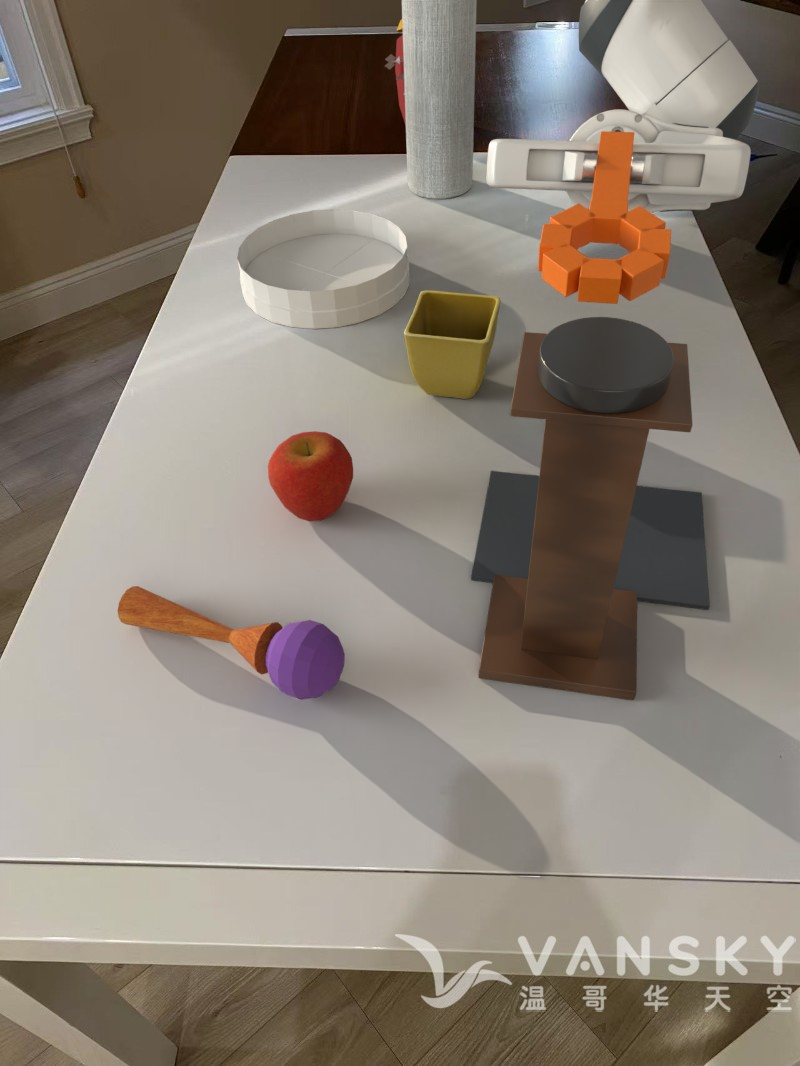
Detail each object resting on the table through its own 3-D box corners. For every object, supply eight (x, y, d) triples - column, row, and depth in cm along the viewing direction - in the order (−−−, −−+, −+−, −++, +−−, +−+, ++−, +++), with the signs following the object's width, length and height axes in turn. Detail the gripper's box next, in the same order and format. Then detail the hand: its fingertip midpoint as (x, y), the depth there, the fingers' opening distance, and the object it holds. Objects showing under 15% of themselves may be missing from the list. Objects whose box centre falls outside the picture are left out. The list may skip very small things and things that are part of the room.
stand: (634, 600, 70) (709, 313, 50) (634, 701, 63) (719, 414, 43) (493, 583, 72) (511, 299, 52) (478, 678, 65) (492, 394, 45)
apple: (259, 510, 80) (245, 448, 74) (316, 467, 84) (307, 405, 78) (316, 546, 76) (305, 484, 70) (373, 500, 80) (367, 437, 74)
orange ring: (671, 153, 63) (675, 127, 62) (663, 307, 53) (669, 281, 52) (560, 149, 65) (562, 124, 63) (532, 299, 55) (533, 273, 53)
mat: (700, 495, 78) (701, 492, 78) (708, 610, 69) (710, 606, 69) (490, 474, 82) (491, 470, 81) (470, 580, 72) (471, 576, 72)
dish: (442, 267, 110) (442, 231, 107) (343, 347, 98) (339, 310, 95) (312, 229, 120) (308, 195, 116) (207, 298, 107) (198, 263, 104)
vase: (485, 183, 128) (492, -22, 109) (442, 206, 123) (442, -4, 104) (437, 167, 133) (436, -32, 114) (394, 188, 128) (385, -16, 109)
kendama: (147, 557, 70) (355, 616, 63) (160, 611, 74) (359, 673, 66) (98, 598, 66) (316, 666, 59) (115, 653, 69) (323, 724, 62)
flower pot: (485, 414, 88) (488, 341, 82) (405, 404, 90) (402, 333, 84) (497, 366, 94) (501, 296, 88) (422, 359, 96) (421, 289, 89)
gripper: (498, 123, 73) (475, 116, 61) (740, 129, 69) (768, 123, 57) (492, 199, 76) (470, 208, 64) (726, 209, 72) (749, 220, 60)
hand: (613, 168), depth 60 cm, fingers closed on orange ring, 2 cm apart
